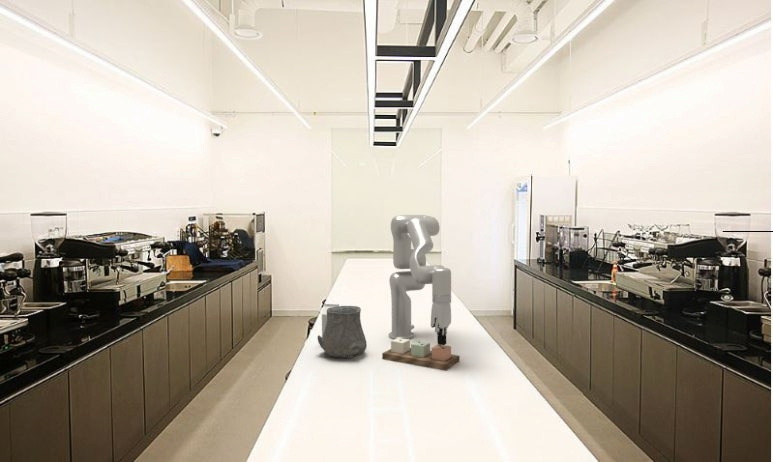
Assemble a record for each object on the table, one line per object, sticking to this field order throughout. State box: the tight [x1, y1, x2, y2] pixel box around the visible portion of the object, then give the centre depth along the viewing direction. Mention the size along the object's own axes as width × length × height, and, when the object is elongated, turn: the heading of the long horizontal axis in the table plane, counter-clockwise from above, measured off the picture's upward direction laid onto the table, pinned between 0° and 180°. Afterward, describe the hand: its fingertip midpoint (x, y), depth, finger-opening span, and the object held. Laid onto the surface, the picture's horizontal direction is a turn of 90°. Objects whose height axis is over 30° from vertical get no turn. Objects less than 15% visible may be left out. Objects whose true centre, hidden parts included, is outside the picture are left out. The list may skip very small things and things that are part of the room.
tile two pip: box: [410, 340, 431, 358], centre depth 208 cm, size 6×6×5 cm
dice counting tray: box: [381, 347, 461, 372], centre depth 208 cm, size 29×13×2 cm, turn 59°
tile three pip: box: [431, 344, 452, 361], centre depth 203 cm, size 6×6×5 cm
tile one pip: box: [390, 338, 411, 354], centre depth 213 cm, size 6×6×5 cm
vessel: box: [317, 305, 368, 359], centre depth 215 cm, size 22×22×20 cm
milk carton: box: [321, 303, 340, 337], centre depth 230 cm, size 7×7×19 cm
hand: (441, 344), depth 203 cm, fingers closed
